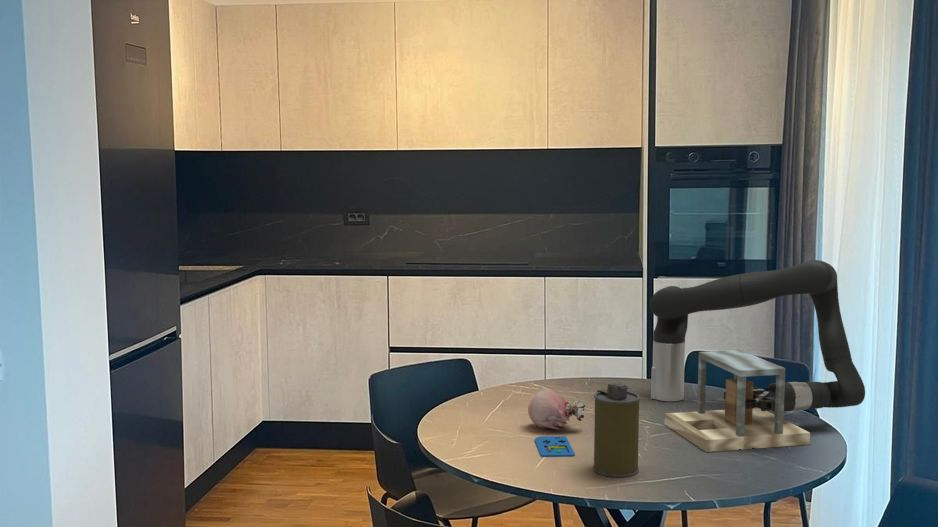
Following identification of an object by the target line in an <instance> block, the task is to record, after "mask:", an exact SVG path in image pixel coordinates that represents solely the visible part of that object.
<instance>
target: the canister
mask: <svg viewBox="0 0 938 527" xmlns="http://www.w3.org/2000/svg"><path fill="white" fill-rule="evenodd" d="M628 389H629V386H628V385H625V384H623V383H621V382H614V383H609V384H607V389H605V388H604V389H603V388H602V389H598V390H597V391H596V393H594V394H593V398H594V430H593V431H594V432H593V433H594V434H593V435H594V439H593V444H594V446H593V451H594V452H593V466H592V470H593V471H594V473H597V474H599V475H600V476H605V477H609V478H627V477H632V476H635V475H637V474H638V473H639V471H640V467H639V436H640V435H639V432H640V431H639V429H640V428H639V426H640V424H639V423H640V400H641V395H639V394H638V393H635V392H632V391H630V390H629V391H628Z"/></svg>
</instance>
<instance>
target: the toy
mask: <svg viewBox="0 0 938 527" xmlns="http://www.w3.org/2000/svg"><path fill="white" fill-rule="evenodd" d="M568 404H569V405H568ZM577 404H578V405H577ZM585 407H586V405H585V404H583V403H582V402H580V400H575V401H574V402H572V401H569V400H567V399H565V398H564V397H562V395H560V394H559V393H557V392H556V391H554V390H550V389H545V390H544V389H543V390H539V391H537V392H536V393H535V394H534V395H533V397H532V399H531V400H530V402H529V404H528V406H527V413H528V416H529V419H530V420H531V422H532V423H533V424H534V425H536V427H539V428H542V429H548V428H549V429H551V430H553V431H555V430H557V431H559V432H561V429H559V428H558V427H564V426H565V425H566V426H569V423H568V422H570V419H569V418H570V417H573V416H575V417H576V419H577V421H579V422H581V421H582V419H583V418H585V415H584V414H583V411H585ZM567 421H568V422H567Z"/></svg>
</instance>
